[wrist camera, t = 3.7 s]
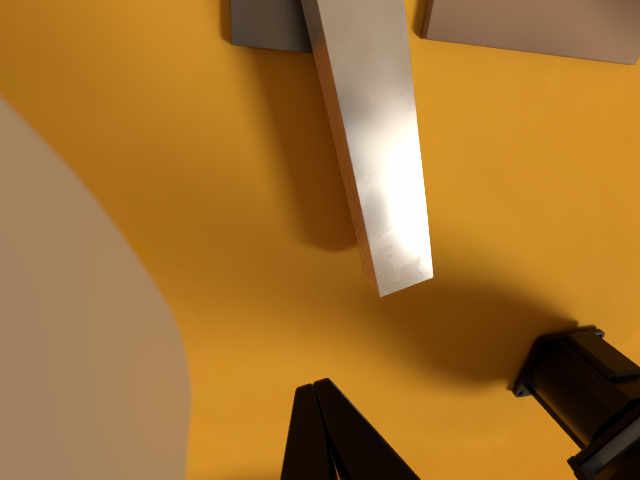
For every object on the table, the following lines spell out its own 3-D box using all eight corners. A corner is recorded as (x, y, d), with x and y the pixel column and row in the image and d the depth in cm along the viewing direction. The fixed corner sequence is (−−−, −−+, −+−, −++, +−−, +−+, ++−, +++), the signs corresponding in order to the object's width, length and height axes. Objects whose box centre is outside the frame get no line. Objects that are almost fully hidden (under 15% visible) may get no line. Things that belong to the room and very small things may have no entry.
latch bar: (261, -139, 11) (272, -182, 9) (360, -164, 11) (392, -211, 9) (360, 274, 19) (378, 301, 17) (415, 253, 19) (439, 278, 17)
